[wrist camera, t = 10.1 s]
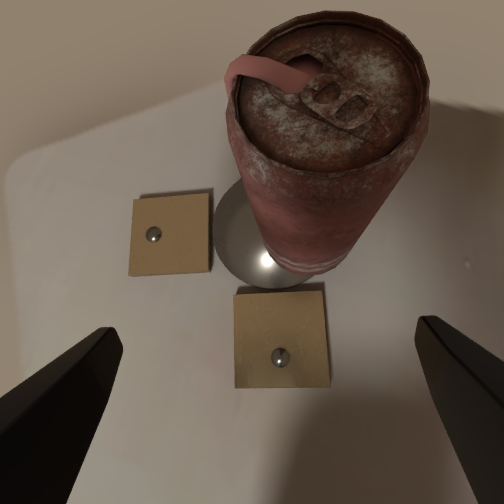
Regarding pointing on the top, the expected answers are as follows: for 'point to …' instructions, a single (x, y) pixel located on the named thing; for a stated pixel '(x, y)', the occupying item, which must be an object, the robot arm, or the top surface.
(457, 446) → the robot arm
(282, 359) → the flat squares and disc
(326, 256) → the can
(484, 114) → the top surface
